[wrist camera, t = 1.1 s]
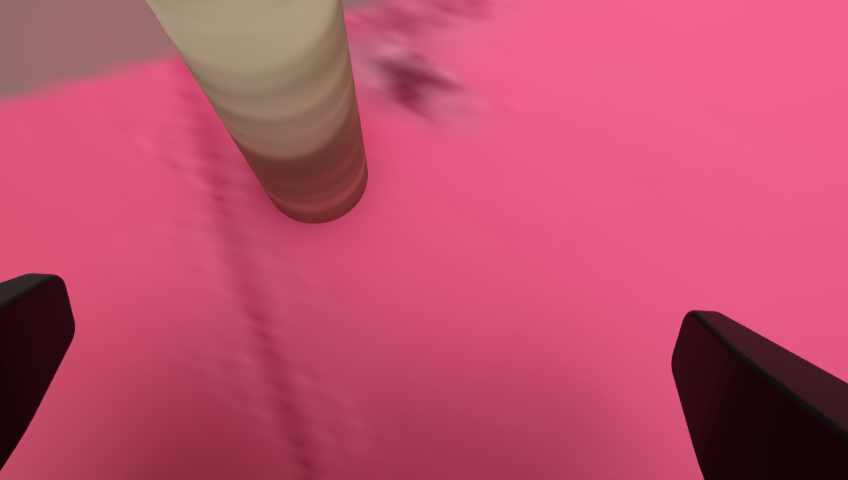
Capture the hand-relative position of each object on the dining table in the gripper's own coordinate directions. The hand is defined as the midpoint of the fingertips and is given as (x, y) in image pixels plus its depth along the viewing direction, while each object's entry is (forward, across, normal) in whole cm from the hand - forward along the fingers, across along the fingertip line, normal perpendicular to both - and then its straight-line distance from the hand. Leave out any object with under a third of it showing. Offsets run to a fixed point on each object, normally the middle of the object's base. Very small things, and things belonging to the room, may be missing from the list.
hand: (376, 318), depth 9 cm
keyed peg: (+15, +4, +4) cm, 16 cm away
